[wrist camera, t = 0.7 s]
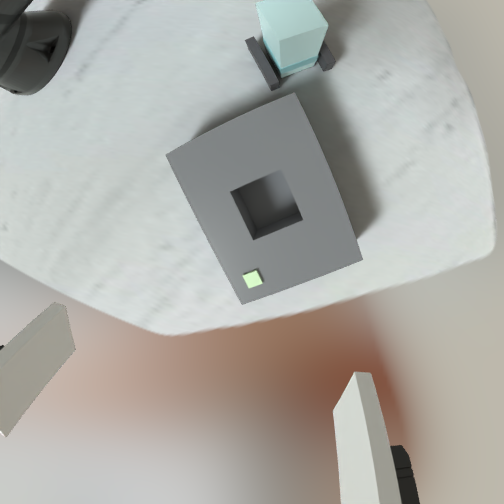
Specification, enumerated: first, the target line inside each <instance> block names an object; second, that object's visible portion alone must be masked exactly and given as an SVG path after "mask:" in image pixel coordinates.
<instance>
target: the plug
mask: <svg viewBox="0 0 504 504" xmlns="http://www.w3.org/2000/svg"><path fill="white" fill-rule="evenodd" d="M255 4H256V8H257V12H258V16H259V21H260V25H261V29H262V34H263V41H264V45H265V48H266V51H267V53H268V54H269V56H270V58H271V60H272V61H273V63H274V65H275V67H276V69H277V71H278V72H279V74H280V76H281V78H283V77H285V76H288V75H291V74H293V73H296V72H299V71H301V70H304V69H307V68H310V67H313V66H314V64H315V62H316V61H317V58H318V53H319V51H320V48H321V45H322V42H323V39H324V37H325V34H326V31H327V28H328V26H329V25H328V23H327V22H326V20H325V19H324V17H323V16H322V14H321V13H320V11H319V10H318V8H317V7H316V5H315V4H314V2H313V1H312V0H263V1H260V2H258V3H255Z"/></svg>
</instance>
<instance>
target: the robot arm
mask: <svg viewBox="0 0 504 504" xmlns="http://www.w3.org/2000/svg"><path fill="white" fill-rule="evenodd" d="M32 1H33V0H0V87H2V88H4V89H6V90H8V91H10V92H11V93H13V94H16V95H31V94H34V93H36V92H38V91H39V90H41V89H42V88H43V87H44V86H45V85H46V84H47V83H48V82H49V81H50V80H51V78H52V77H53V76H54V74H55V73H56V71H57V70H58V68H59V66H60V65H61V63H62V61H63V59H64V57H65V54H66V52H67V49H68V46H69V42H70V38H71V23H70V20H69V18H68V17H67V16H66V15H65V14H63V13H61V12H58V11H55V10H46V11H29V12H24V11H25V9H26V8H27V7H28V6H29V5H30V3H31V2H32ZM75 350H76V349H75V345H74V341H73V337H72V333H71V329H70V324H69V320H68V315H67V310H66V306H64V305H61V304H59V303H57V302H54V303H53V304H51V305H50V306H49V307H48V308H47V309H46V310H44V311H43V312H42V313H41V314H40V315H38V316H37V317H36V318H35V319H34V320H33V321H32V322H31V323H29V324H28V325H27V326H26V327H25V328H24V329H23V330H22V331H21V332H19V333H18V334H17V335H16V336H15V337H14V338H13V339H12V340H11V341H10V342H9V343H8V344H7V345H5V346H3V345H2V346H0V433H1V434H2V435H3V436H5V437H7V436H8V435H9V433H10V432H11V430H12V429H13V428H14V426H15V425H16V423H17V422H18V421H19V419H20V418H21V417H22V415H23V414H24V412H25V411H26V410H27V409H28V408H29V406H30V405H31V404H32V402H33V401H34V400H35V398H36V397H37V396H38V395H39V393H40V392H41V391H42V389H43V388H44V387H45V386H46V384H47V383H48V382H49V381H50V380H51V379H52V377H53V376H54V375H55V374H56V372H57V371H58V370H59V369H60V368H61V366H62V365H63V364H64V363H65V362H66V360H67V359H68V358H69V357H70V356H71V355H72V353H73V352H74V351H75ZM333 415H334V424H335V434H336V444H337V455H338V467H339V478H340V479H339V480H340V494H341V504H420V502H419V497H418V492H417V488H416V483H415V479H414V477H413V470H412V469H411V462H410V458H409V455H408V454H407V452H406V451H405V449H404V448H403V446H402V445H398V446H390V444H389V440H388V435H387V431H386V427H385V423H384V419H383V415H382V411H381V408H380V404H379V401H378V397H377V393H376V390H375V386H374V383H373V379H372V376H371V373H363V372H354V374H353V376H352V378H351V380H350V382H349V383H348V385H347V387H346V389H345V391H344V393H343V394H342V396H341V398H340V400H339V402H338V403H337V405H336V407H335V408H334V410H333Z"/></svg>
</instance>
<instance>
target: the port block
mask: <svg viewBox="0 0 504 504" xmlns="http://www.w3.org/2000/svg"><path fill="white" fill-rule="evenodd" d="M166 157H167V159H168V161H169V163H170V165H171V168H172V170H173V172H174V174H175V176H176V178H177V180H178V182H179V184H180V186H181V188H182V190H183V192H184V194H185V196H186V198H187V200H188V202H189V204H190V206H191V208H192V210H193V212H194V214H195V216H196V218H197V220H198V222H199V224H200V226H201V228H202V230H203V232H204V234H205V236H206V238H207V240H208V242H209V243H210V245H211V247H212V249H213V251H214V253H215V255H216V257H217V259H218V261H219V263H220V265H221V267H222V268H223V270H224V272H225V274H226V276H227V278H228V280H229V282H230V283H231V285H232V287H233V289H234V291H235V293H236V295H237V297H238V298H239V300H240V302H241V304H242V305H243V304H246V303H249V302H252V301H255V300H257V299H260V298H263V297H266V296H269V295H272V294H274V293H277V292H280V291H283V290H285V289H288V288H291V287H294V286H296V285H299V284H302V283H304V282H307V281H310V280H312V279H315V278H318V277H320V276H323V275H326V274H328V273H331V272H333V271H336V270H338V269H341V268H344V267H346V266H349V265H351V264H354V263H356V262H359V261H361V260H363V258H362V255H361V252H360V249H359V246H358V243H357V240H356V237H355V234H354V231H353V228H352V225H351V222H350V220H349V217H348V214H347V211H346V209H345V206H344V203H343V201H342V198H341V195H340V193H339V190H338V188H337V185H336V182H335V180H334V177H333V175H332V173H331V170H330V168H329V165H328V163H327V161H326V158H325V156H324V154H323V151H322V149H321V147H320V144H319V142H318V140H317V138H316V135H315V133H314V131H313V129H312V127H311V125H310V122H309V120H308V118H307V116H306V114H305V112H304V110H303V108H302V106H301V104H300V102H299V100H298V98H297V96H296V94H295V92H294V93H292V94H289V95H287V96H284V97H282V98H279V99H277V100H274V101H272V102H270V103H267V104H265V105H263V106H260V107H258V108H256V109H254V110H251V111H249V112H247V113H245V114H243V115H240V116H238V117H236V118H234V119H232V120H230V121H228V122H226V123H224V124H222V125H220V126H218V127H216V128H214V129H212V130H210V131H208V132H206V133H204V134H202V135H200V136H198V137H197V138H195V139H193V140H191V141H189V142H187V143H186V144H184V145H182V146H180V147H178V148H177V149H175V150H173V151H171V152H170V153H168V154H166Z"/></svg>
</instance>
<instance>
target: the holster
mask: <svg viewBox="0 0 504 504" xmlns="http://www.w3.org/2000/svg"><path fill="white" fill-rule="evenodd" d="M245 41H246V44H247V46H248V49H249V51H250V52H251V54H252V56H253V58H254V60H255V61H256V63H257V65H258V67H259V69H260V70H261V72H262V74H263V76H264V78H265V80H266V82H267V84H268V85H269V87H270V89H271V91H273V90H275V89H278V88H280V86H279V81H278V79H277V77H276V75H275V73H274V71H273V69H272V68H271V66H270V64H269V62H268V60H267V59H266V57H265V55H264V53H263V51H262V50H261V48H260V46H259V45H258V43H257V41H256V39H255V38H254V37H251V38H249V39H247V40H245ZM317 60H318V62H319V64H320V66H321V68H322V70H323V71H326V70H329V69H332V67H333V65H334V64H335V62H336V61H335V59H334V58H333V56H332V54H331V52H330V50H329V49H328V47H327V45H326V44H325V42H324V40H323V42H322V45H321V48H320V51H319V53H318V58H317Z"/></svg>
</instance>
